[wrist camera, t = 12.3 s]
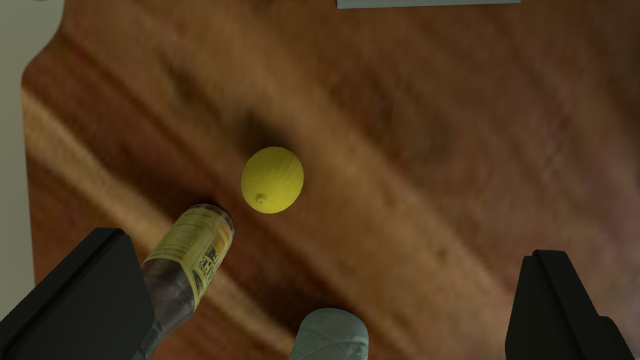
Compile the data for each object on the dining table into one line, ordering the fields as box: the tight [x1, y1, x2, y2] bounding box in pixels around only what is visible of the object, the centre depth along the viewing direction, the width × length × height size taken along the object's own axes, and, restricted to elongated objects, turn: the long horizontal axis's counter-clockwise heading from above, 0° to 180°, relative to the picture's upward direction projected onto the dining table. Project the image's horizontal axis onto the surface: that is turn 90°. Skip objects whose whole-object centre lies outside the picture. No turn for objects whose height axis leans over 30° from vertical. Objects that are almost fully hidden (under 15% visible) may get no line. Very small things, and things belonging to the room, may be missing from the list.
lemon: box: [241, 147, 304, 213], centre depth 40 cm, size 6×6×8 cm
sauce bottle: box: [132, 204, 234, 360], centre depth 41 cm, size 6×6×20 cm
